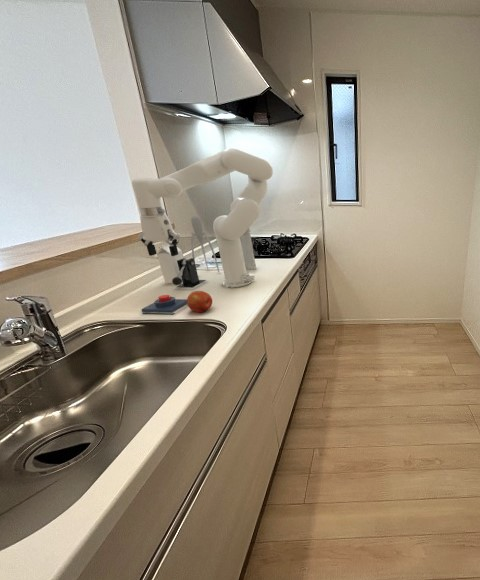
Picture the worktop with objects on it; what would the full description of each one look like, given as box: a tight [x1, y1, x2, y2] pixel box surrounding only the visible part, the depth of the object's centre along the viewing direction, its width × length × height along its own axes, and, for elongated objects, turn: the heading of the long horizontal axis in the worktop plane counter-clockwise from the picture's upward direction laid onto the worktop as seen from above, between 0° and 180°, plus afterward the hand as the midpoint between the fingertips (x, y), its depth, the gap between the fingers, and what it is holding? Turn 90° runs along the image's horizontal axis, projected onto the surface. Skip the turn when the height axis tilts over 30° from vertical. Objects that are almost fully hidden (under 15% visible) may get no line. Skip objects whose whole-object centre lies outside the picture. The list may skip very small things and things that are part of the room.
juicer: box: [190, 214, 220, 273], centre depth 157 cm, size 10×9×30 cm
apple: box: [186, 290, 213, 313], centre depth 118 cm, size 8×8×8 cm
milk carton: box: [156, 243, 185, 284], centre depth 147 cm, size 7×7×19 cm
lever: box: [171, 258, 189, 286], centre depth 139 cm, size 13×4×4 cm
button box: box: [140, 296, 187, 316], centre depth 121 cm, size 12×10×4 cm
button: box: [157, 294, 171, 302], centre depth 120 cm, size 4×4×2 cm
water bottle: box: [240, 227, 257, 271], centre depth 165 cm, size 9×8×25 cm
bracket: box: [176, 257, 207, 289], centre depth 144 cm, size 10×8×13 cm
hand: (164, 255), depth 127 cm, fingers open, 9 cm apart
